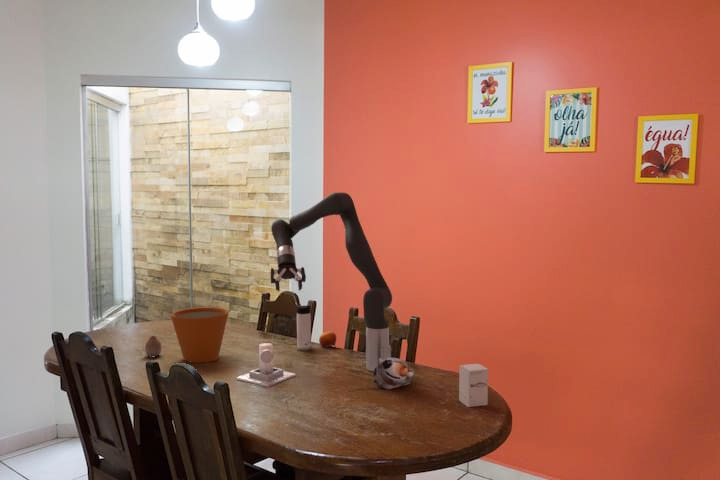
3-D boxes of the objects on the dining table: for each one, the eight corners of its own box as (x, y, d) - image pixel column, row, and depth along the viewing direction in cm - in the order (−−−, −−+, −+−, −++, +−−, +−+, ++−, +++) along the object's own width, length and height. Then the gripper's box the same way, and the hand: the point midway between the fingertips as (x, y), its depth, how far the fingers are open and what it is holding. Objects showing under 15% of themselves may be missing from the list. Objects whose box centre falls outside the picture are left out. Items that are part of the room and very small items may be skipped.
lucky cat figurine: (415, 381, 230) (421, 354, 222) (405, 402, 220) (411, 375, 212) (378, 366, 233) (383, 339, 226) (366, 387, 224) (372, 360, 216)
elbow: (259, 373, 237) (258, 343, 236) (272, 372, 238) (272, 342, 237) (260, 380, 228) (259, 349, 227) (274, 379, 229) (273, 348, 228)
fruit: (332, 346, 275) (325, 330, 276) (320, 353, 279) (314, 337, 281) (343, 343, 281) (336, 327, 283) (332, 349, 285) (325, 333, 287)
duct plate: (295, 375, 237) (295, 368, 237) (268, 386, 224) (268, 379, 223) (265, 369, 246) (264, 362, 245) (236, 379, 232) (236, 372, 232)
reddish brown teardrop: (164, 354, 268) (163, 334, 268) (157, 358, 261) (157, 338, 261) (149, 353, 269) (148, 334, 268) (142, 358, 262) (141, 338, 261)
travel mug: (309, 351, 273) (308, 307, 271) (295, 350, 274) (294, 306, 272) (313, 347, 279) (312, 304, 277) (299, 346, 280) (298, 304, 278)
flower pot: (160, 361, 257) (158, 315, 255) (199, 348, 278) (198, 305, 276) (203, 369, 246) (201, 320, 244) (240, 355, 267) (239, 310, 265)
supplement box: (468, 408, 202) (468, 370, 200) (458, 400, 209) (458, 364, 208) (488, 405, 204) (488, 368, 203) (477, 398, 211) (478, 362, 210)
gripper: (269, 253, 251) (271, 285, 241) (303, 252, 254) (307, 283, 244) (268, 264, 257) (271, 296, 247) (302, 263, 260) (306, 294, 250)
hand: (289, 289), depth 246 cm, fingers open, 8 cm apart
